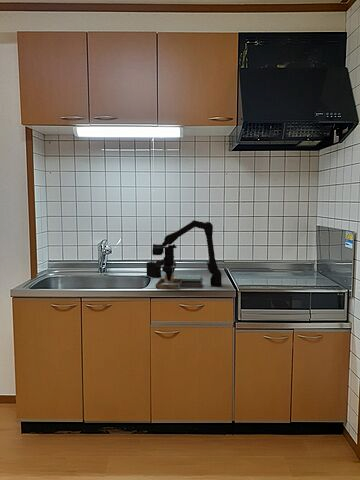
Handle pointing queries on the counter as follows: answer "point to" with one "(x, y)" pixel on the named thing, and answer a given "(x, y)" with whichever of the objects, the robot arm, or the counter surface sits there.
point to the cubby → (166, 284)
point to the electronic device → (153, 270)
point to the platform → (189, 277)
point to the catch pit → (191, 284)
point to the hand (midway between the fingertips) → (169, 279)
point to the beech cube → (170, 279)
